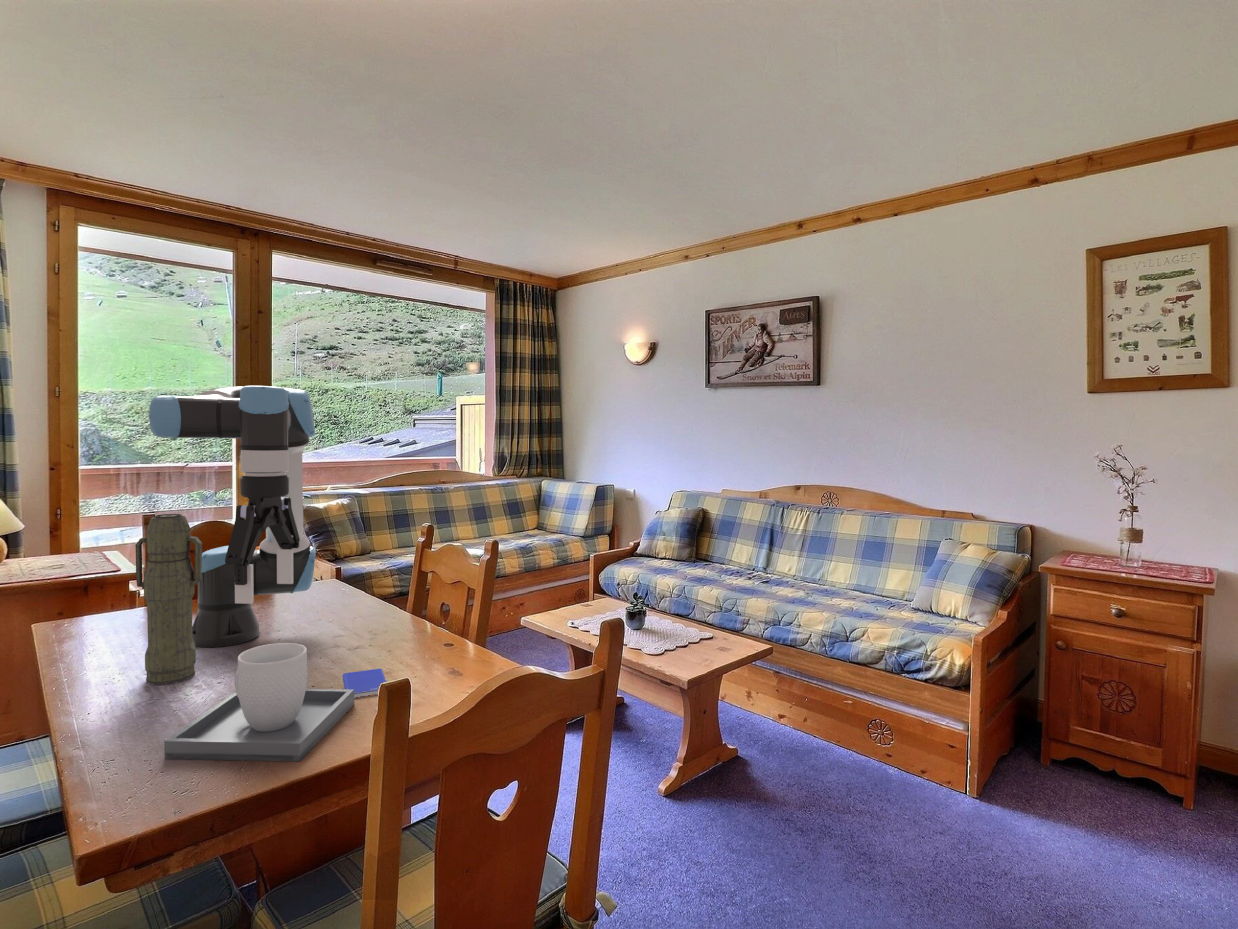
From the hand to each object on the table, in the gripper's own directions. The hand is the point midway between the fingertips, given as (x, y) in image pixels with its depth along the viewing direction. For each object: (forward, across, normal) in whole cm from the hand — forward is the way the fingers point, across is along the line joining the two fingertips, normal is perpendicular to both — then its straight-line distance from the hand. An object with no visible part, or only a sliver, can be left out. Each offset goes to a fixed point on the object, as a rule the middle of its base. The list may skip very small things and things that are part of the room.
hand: (266, 592), depth 116 cm
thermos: (+25, -23, -32) cm, 47 cm away
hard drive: (+26, -20, +10) cm, 34 cm away
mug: (+24, 0, 0) cm, 24 cm away
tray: (+25, 0, 0) cm, 25 cm away
